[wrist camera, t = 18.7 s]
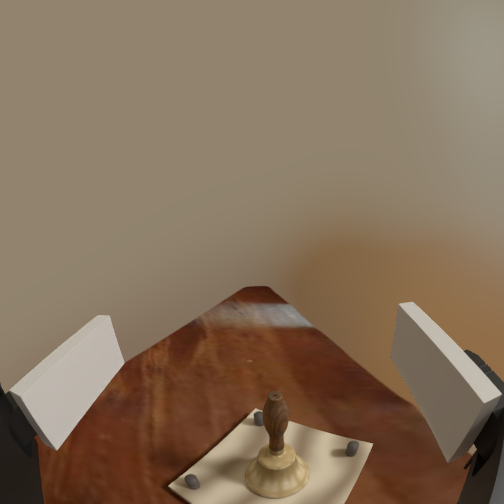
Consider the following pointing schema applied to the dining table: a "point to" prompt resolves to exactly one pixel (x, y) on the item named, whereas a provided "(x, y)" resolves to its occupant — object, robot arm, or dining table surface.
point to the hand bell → (276, 456)
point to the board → (246, 449)
